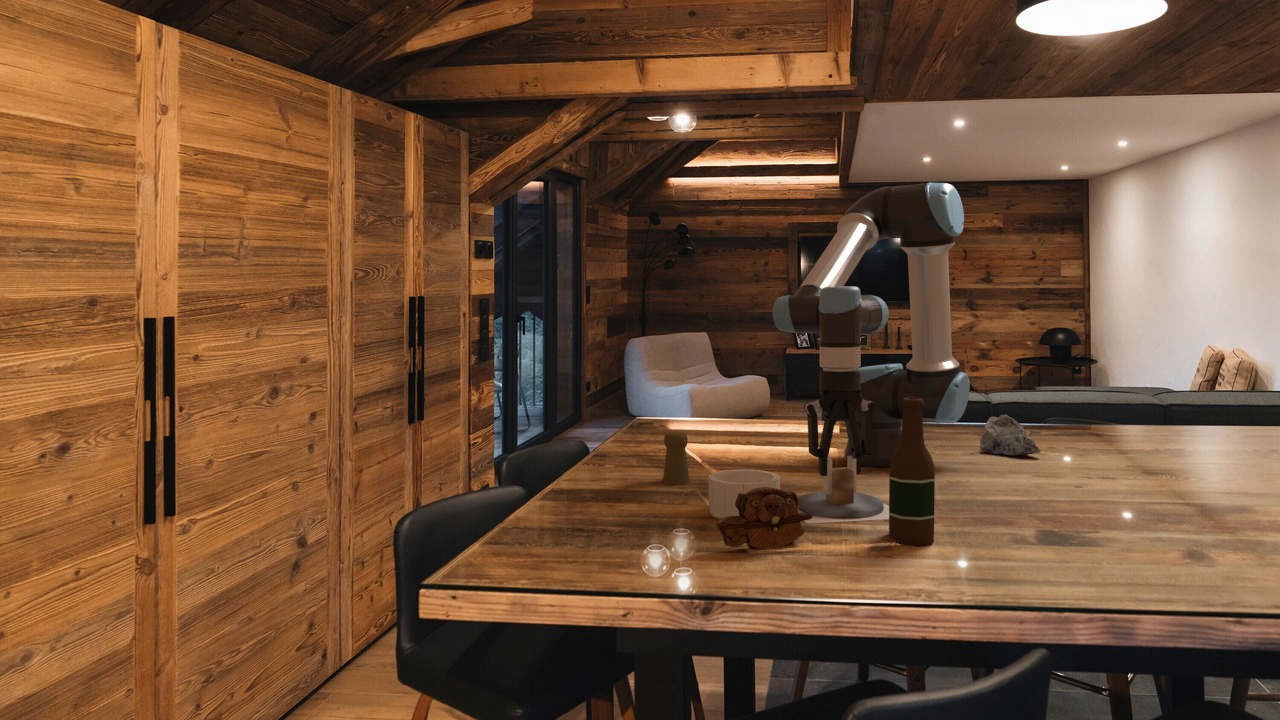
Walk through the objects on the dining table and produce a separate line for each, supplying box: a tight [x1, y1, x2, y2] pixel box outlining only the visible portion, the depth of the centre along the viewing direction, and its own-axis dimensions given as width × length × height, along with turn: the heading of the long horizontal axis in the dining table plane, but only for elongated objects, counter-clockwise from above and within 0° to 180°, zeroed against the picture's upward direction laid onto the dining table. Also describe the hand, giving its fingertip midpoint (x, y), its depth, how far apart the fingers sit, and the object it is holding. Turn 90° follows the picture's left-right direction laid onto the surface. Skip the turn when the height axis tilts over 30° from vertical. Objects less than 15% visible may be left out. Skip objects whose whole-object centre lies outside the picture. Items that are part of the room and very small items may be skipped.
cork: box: [662, 431, 691, 486], centre depth 201 cm, size 6×6×11 cm
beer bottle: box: [888, 397, 936, 547], centre depth 154 cm, size 8×8×24 cm
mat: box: [797, 493, 889, 525], centre depth 175 cm, size 19×19×1 cm
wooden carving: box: [716, 487, 813, 549], centre depth 151 cm, size 16×5×10 cm, turn 110°
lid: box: [797, 466, 885, 518], centre depth 174 cm, size 16×16×7 cm
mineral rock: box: [979, 414, 1041, 457], centre depth 225 cm, size 13×11×10 cm
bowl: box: [707, 468, 781, 521], centre depth 174 cm, size 13×13×7 cm
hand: (839, 491), depth 174 cm, fingers closed on lid, 4 cm apart
